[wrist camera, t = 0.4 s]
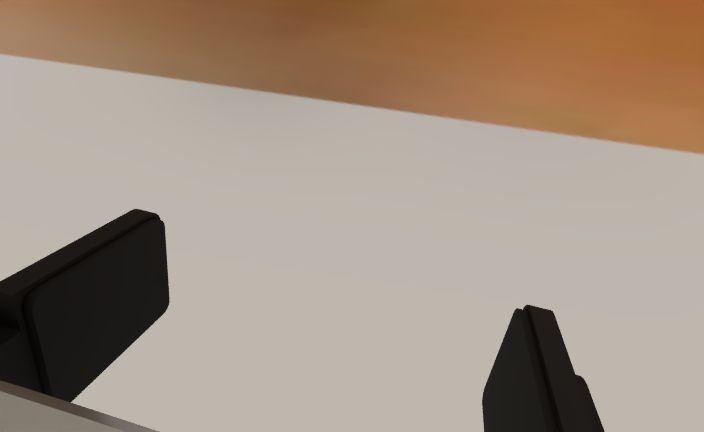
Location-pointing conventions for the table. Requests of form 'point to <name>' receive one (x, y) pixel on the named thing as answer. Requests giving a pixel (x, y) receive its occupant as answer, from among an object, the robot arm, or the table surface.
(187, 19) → the table surface
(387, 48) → the table surface
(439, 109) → the table surface
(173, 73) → the table surface
